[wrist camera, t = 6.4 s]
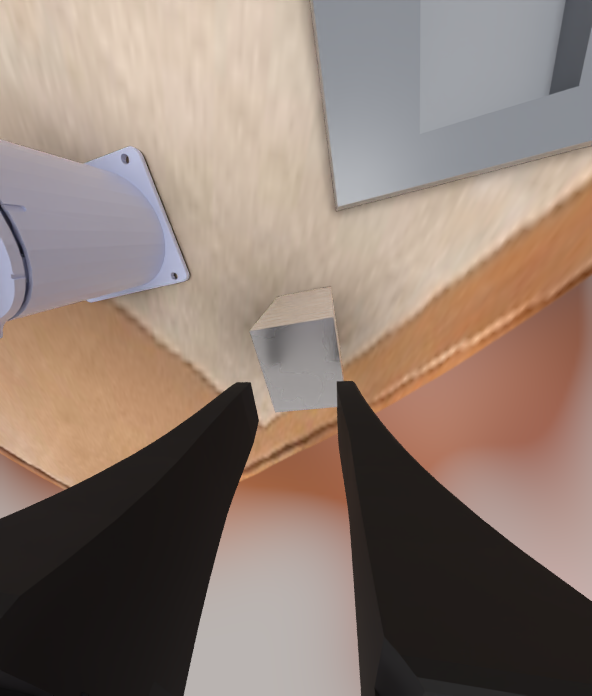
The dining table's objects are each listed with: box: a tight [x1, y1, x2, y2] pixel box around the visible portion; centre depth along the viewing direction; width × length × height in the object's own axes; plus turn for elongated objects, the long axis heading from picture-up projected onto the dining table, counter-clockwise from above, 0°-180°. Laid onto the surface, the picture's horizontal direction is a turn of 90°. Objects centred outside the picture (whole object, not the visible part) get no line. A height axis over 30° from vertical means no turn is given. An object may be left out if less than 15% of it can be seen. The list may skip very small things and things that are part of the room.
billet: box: [250, 286, 344, 412], centre depth 15 cm, size 4×5×7 cm
